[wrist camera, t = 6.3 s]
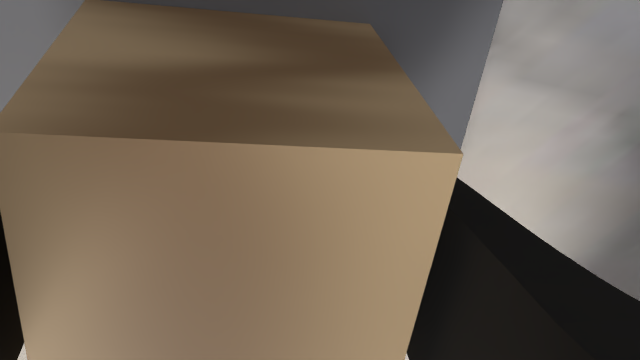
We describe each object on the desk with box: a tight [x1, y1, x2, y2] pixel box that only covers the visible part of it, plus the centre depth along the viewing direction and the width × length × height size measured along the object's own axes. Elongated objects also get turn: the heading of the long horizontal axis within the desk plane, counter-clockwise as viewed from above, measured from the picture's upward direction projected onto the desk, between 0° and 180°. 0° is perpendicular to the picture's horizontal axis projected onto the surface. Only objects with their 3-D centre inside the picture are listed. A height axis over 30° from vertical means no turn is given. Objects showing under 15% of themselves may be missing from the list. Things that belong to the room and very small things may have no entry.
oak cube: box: [0, 0, 463, 360], centre depth 10 cm, size 5×5×5 cm
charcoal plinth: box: [0, 0, 503, 149], centre depth 13 cm, size 10×10×2 cm
